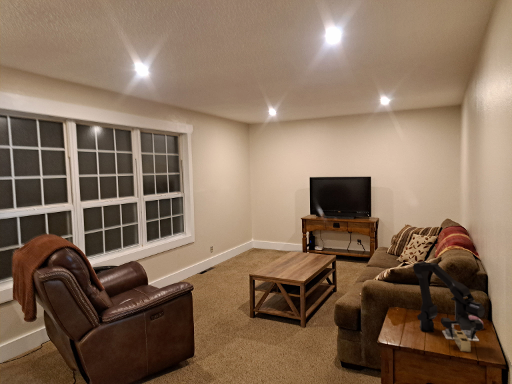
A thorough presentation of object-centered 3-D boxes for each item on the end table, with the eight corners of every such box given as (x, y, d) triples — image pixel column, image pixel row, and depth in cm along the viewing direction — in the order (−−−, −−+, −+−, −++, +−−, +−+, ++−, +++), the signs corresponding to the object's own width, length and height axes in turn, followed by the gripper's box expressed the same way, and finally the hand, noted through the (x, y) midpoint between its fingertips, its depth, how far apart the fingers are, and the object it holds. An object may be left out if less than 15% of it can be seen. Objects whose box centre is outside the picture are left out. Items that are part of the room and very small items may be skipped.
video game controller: (481, 332, 198) (486, 321, 198) (476, 330, 197) (480, 318, 197) (466, 325, 207) (470, 314, 208) (461, 323, 206) (465, 312, 206)
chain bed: (446, 338, 190) (446, 327, 190) (442, 331, 199) (441, 320, 198) (479, 341, 186) (479, 329, 185) (473, 333, 195) (473, 322, 194)
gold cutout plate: (470, 351, 176) (470, 342, 176) (461, 351, 178) (460, 341, 177) (463, 340, 188) (462, 331, 188) (454, 339, 189) (453, 330, 189)
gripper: (446, 315, 176) (446, 345, 177) (487, 318, 171) (487, 348, 172) (440, 306, 187) (440, 334, 188) (479, 308, 182) (479, 337, 183)
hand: (461, 338), depth 183 cm, fingers open, 9 cm apart
